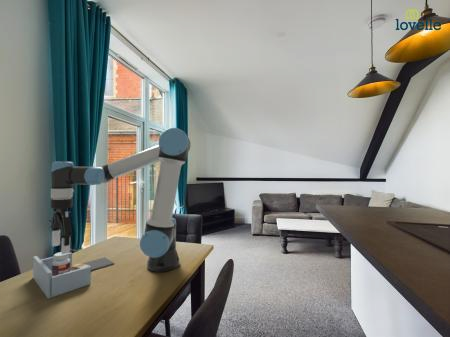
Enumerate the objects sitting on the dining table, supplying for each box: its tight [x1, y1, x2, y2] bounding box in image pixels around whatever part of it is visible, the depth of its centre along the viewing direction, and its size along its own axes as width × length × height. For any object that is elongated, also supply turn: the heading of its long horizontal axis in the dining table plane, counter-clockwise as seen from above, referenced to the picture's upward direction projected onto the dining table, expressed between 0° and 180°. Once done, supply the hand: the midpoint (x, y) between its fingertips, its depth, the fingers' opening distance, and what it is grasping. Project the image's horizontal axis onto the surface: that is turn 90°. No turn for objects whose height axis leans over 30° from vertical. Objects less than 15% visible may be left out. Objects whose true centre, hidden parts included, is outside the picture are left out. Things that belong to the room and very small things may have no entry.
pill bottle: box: [52, 251, 71, 277], centre depth 95 cm, size 6×6×11 cm
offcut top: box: [70, 263, 90, 271], centre depth 101 cm, size 6×4×2 cm, turn 69°
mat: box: [81, 257, 115, 272], centre depth 112 cm, size 11×11×1 cm
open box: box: [32, 252, 92, 299], centre depth 95 cm, size 24×14×9 cm, turn 50°
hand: (60, 249), depth 95 cm, fingers open, 13 cm apart
